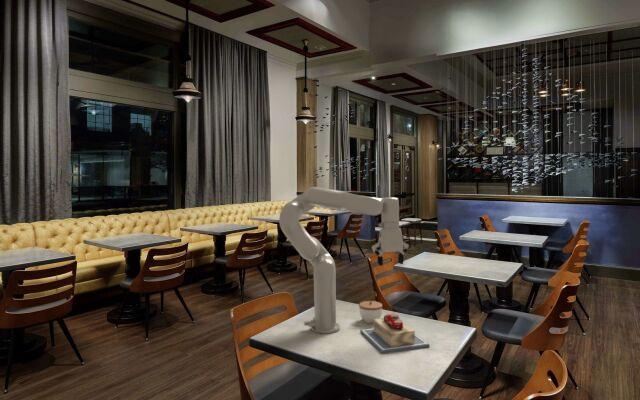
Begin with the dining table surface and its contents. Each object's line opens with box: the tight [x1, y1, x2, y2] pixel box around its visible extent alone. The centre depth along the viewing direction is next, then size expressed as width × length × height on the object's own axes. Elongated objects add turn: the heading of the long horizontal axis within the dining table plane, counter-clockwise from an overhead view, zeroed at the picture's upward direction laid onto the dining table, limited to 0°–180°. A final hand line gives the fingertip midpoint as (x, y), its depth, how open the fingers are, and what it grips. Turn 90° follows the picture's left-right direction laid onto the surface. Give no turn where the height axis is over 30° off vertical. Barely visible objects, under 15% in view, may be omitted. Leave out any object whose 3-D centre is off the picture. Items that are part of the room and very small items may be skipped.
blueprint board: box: [359, 317, 430, 355], centre depth 157 cm, size 20×22×6 cm
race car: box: [383, 313, 404, 329], centre depth 157 cm, size 13×5×4 cm, turn 5°
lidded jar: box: [358, 300, 383, 324], centre depth 179 cm, size 11×11×9 cm
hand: (390, 264), depth 169 cm, fingers open, 9 cm apart
